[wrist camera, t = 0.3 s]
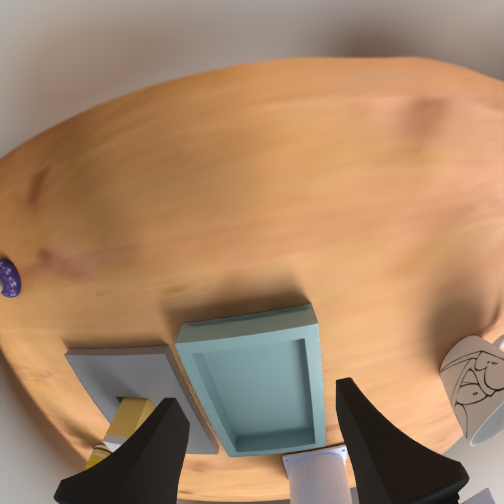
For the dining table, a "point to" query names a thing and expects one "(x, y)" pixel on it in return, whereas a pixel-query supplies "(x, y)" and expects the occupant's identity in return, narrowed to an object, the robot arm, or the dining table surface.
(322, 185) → the dining table surface
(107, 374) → the socket block
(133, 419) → the block
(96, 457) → the supplement bottle
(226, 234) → the dining table surface
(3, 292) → the toy lamp
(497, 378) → the mug
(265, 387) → the parts tray
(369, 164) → the dining table surface
